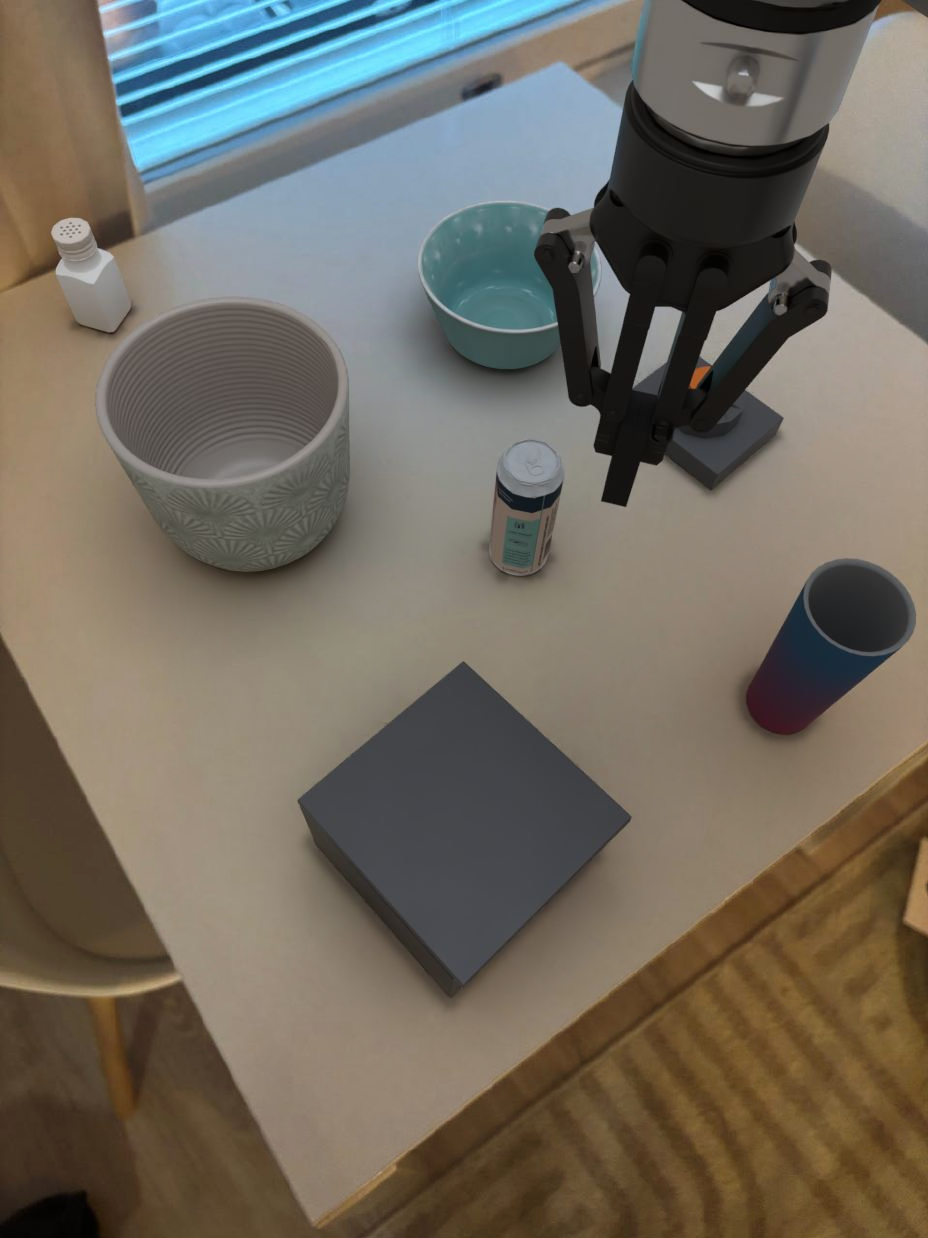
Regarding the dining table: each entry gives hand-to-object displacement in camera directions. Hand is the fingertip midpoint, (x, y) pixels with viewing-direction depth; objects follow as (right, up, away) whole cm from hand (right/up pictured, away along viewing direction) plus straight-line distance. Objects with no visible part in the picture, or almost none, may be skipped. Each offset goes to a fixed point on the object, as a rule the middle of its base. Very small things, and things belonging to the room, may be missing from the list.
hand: (617, 485), depth 55 cm
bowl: (-5, +19, +33) cm, 38 cm away
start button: (+11, +11, +25) cm, 29 cm away
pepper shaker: (-42, +20, +32) cm, 57 cm away
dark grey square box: (-10, -23, +10) cm, 27 cm away
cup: (+15, -14, +16) cm, 26 cm away
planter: (-26, +1, +22) cm, 34 cm away
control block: (+11, +9, +28) cm, 32 cm away
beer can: (-5, -3, +21) cm, 22 cm away
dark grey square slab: (-9, -19, +1) cm, 21 cm away
